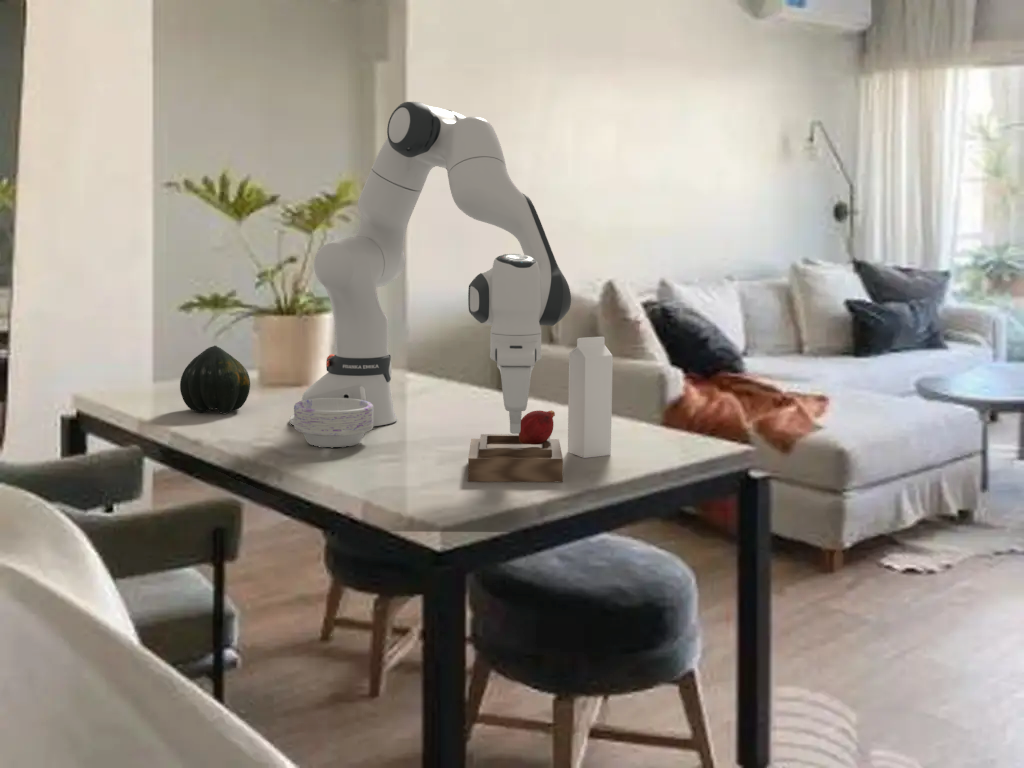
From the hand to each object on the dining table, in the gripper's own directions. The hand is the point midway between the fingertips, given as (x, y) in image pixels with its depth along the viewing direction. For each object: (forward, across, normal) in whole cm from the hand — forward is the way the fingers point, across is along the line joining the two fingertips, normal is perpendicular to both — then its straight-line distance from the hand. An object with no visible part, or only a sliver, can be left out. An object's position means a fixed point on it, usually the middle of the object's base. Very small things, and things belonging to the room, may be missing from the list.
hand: (515, 427), depth 208 cm
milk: (+8, -14, +14) cm, 21 cm away
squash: (+8, -55, -66) cm, 86 cm away
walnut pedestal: (+8, 0, 0) cm, 8 cm away
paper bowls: (+8, -22, -35) cm, 42 cm away
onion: (+3, 0, +1) cm, 3 cm away
